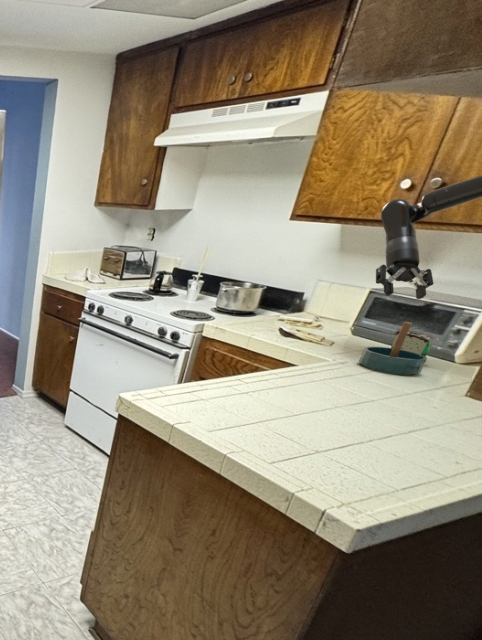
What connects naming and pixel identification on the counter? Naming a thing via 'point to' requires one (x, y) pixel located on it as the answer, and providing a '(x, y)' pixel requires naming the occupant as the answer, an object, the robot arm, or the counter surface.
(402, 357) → the bowl
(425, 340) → the sandwich
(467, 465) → the counter surface
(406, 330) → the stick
